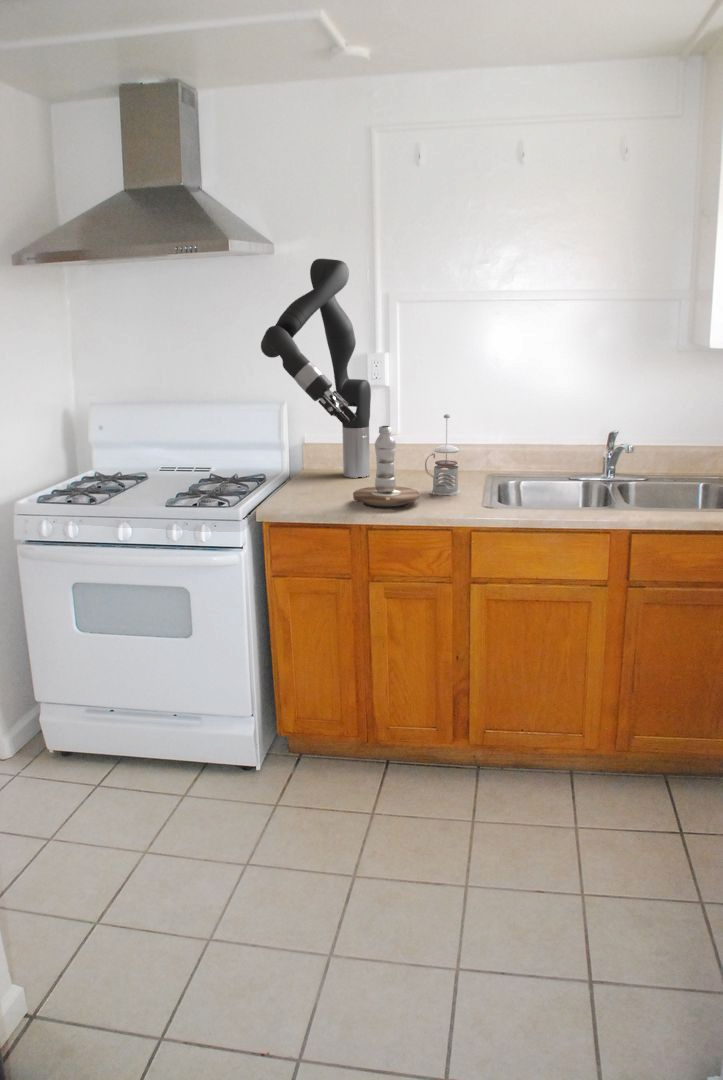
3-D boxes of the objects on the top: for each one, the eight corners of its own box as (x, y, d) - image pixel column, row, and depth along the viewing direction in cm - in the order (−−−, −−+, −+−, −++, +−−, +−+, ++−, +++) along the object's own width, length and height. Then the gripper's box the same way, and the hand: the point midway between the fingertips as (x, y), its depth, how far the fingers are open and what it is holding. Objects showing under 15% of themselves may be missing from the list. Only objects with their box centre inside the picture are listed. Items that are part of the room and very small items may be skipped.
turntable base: (362, 498, 276) (362, 492, 276) (407, 497, 277) (407, 492, 276) (363, 509, 263) (363, 503, 262) (411, 508, 263) (411, 502, 263)
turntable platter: (352, 490, 278) (352, 486, 278) (416, 489, 279) (416, 484, 279) (354, 505, 259) (353, 500, 259) (422, 504, 260) (422, 499, 259)
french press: (459, 496, 278) (461, 416, 271) (422, 494, 280) (423, 415, 273) (462, 489, 287) (464, 412, 280) (426, 488, 289) (427, 411, 282)
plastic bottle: (391, 488, 273) (391, 424, 268) (399, 493, 267) (399, 427, 261) (371, 490, 271) (371, 425, 266) (379, 495, 265) (378, 429, 259)
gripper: (314, 375, 257) (353, 415, 257) (327, 370, 270) (364, 409, 271) (297, 393, 259) (336, 433, 260) (311, 387, 273) (348, 425, 273)
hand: (350, 420), depth 265 cm, fingers open, 8 cm apart
